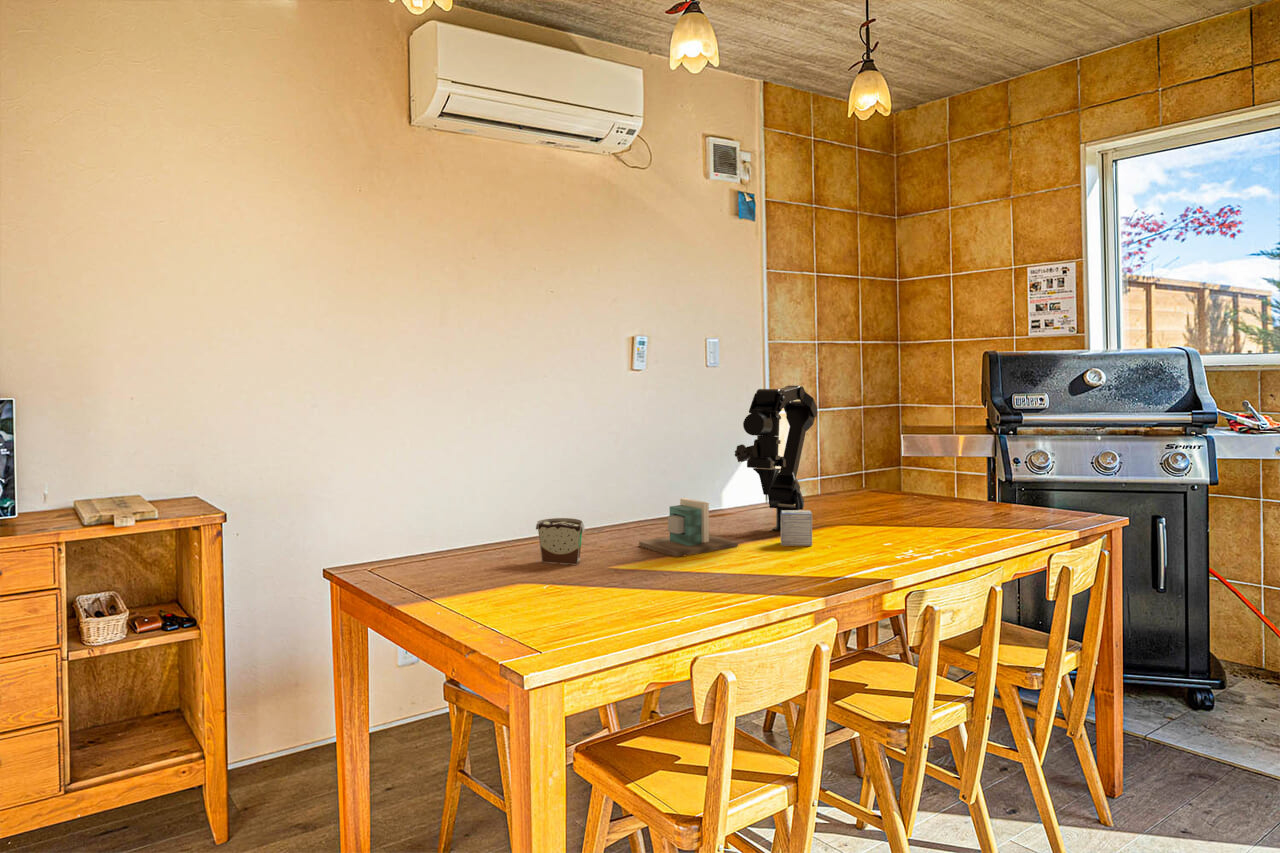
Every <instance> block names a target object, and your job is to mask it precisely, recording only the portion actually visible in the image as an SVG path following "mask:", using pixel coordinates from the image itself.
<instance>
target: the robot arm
mask: <svg viewBox="0 0 1280 853" xmlns="http://www.w3.org/2000/svg"><path fill="white" fill-rule="evenodd" d="M782 410H784V412H785V414H786V415H785V417H786V418H785V419H786V421H787V422H788V425H789V428H788V432H787V433H788V434H787V438H786V443H785V446H784V447H785V448H784V451H783V456H781V455H779V445H781V442H782V440H780V422H781V421H780V420H782V416H781V415H780V413H781V412H782ZM748 413H749V414H748V415H746V417H745V418H744V420H743V421H742V422H743V423H742V426H743V429H744V431H745V432H746V434H747V435H751V436H755V437H756V439H754V441H753V445H749V446H746V445H745V444H739V445H737V446H736V449H735V450H734V456H735V458H736V459H737V463H743V462H746V468H749V469H750V468H752V470H753V471H755V472H756V474H758V476H759V479H760V484H761V488H762V494H763V495H764V496H765V495H766V496H767V499H768V503H769V504H768V506H769V509H776V510H775V512H776V514H775V515H776V516H775V518H776V522H775V523H776V524H775V525H776V526H774V527H773V528H772V529H771V530H772V531H776V532H781V510H804V507H805V499H804V497H803V495H802V492H801V490H800V489H801V485H800V484H799V481H798V478H797V476H798V471H799V466H800V462H801V461H800V460H801V457H802V451H803V447H804V442H805V438H806V433H807V432H808V430H810V429H811V427H812V426H813V425H814V423H815V419H816V417H817V415H818V406H817V404H816V401H815V399H814V397H813V396H811V395H810V394H809V393H807V392H806V390H805V388H804V386H801V385H787V386H786V385H785V387H780V388H759V389H757V390H756V392H755V393H754V395H753V398H752V402H751V404H750V407H749V410H748ZM776 467H780V468H776Z"/></svg>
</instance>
